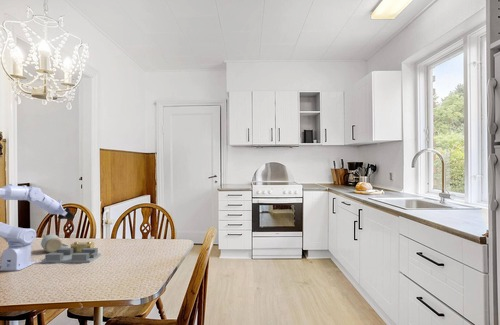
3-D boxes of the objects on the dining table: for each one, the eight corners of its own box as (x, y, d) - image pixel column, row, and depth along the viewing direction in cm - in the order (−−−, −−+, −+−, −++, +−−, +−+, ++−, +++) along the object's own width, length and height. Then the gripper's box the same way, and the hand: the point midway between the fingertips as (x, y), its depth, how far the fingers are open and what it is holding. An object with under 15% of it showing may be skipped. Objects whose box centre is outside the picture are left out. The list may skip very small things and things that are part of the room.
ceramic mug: (44, 254, 129) (45, 238, 129) (40, 251, 134) (41, 235, 135) (70, 250, 137) (71, 234, 137) (65, 247, 142) (66, 232, 142)
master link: (90, 255, 130) (90, 243, 130) (70, 255, 129) (70, 243, 129) (93, 252, 133) (94, 241, 133) (74, 252, 133) (75, 241, 133)
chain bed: (89, 262, 119) (89, 254, 119) (41, 262, 118) (41, 254, 118) (100, 255, 129) (101, 248, 129) (56, 255, 128) (56, 248, 128)
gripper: (62, 201, 123) (83, 213, 134) (44, 190, 129) (65, 203, 140) (50, 214, 120) (72, 226, 131) (32, 203, 126) (54, 215, 137)
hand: (68, 215), depth 135 cm, fingers open, 7 cm apart
